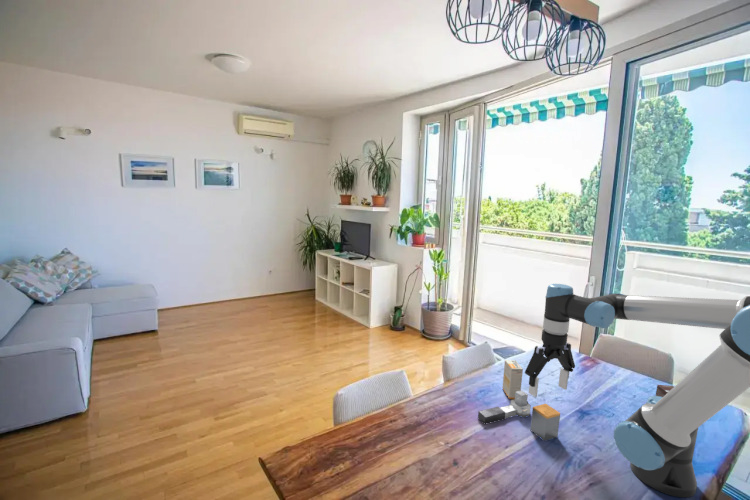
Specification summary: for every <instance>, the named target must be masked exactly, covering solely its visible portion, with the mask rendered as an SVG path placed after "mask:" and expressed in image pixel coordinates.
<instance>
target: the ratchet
mask: <svg viewBox="0 0 750 500" xmlns="http://www.w3.org/2000/svg"><path fill="white" fill-rule="evenodd" d="M477 414H478V415H477V419H478V418H479V419H480V420H481V421H482V422H483V423H482V422H481V421H480V420H479V419H478V420H479V421H480V422H481V423H482V424H484V423H485V424H484V425H487V424H486V423H489V424H491V423H490V422H493V423H495V422H494V421H497V422H499V421H498V420H500V421H503V420H502V419H504V420H505V418H506V419H509V418H508V417H510V418H512V417H511V416H513V417H516V416H515V415H518V416H517V417H519V416H522V417H521V418H527V417H526V416H528V417H529V416H530V415H531V404H530V403H529V401H528V393H526V392H525V391H523V390H522V389H521V391H517V392H516V393H515V399H511V400H510V403H509V405H506V406H501V407H500V406H494V407H492V408H486V409H482V410H478V412H477Z"/></svg>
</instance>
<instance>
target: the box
mask: <svg viewBox="0 0 750 500" xmlns="http://www.w3.org/2000/svg"><path fill="white" fill-rule="evenodd" d="M674 387H675V386H673V385H666V384H657V385H656V391H655V396H659V397H664V396H665V395H666V394H667V393H668V392H669V391H670V390H671V389H672V388H674Z"/></svg>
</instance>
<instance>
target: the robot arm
mask: <svg viewBox="0 0 750 500" xmlns="http://www.w3.org/2000/svg"><path fill="white" fill-rule="evenodd" d="M570 320H574V321H576V322H577V321H578V322H581V323H583V324H585V325H586V324H587V325H589V326H590V327H591V326H592V327H594V328H595V327H596V328H599V329H600V328H601V329H607V328H609V327H610V325H612V324H613V322H614V320H627V321H637V322H650V323H659V324H669V325H670V324H671V325H677V326H679V325H680V326H690V327H697V328H698V327H699V328H710V329H719V330H722V332H720V333H719V340H720V343H721V344H720V345H719V346H718V347H717V348H716V349H715V350H713V351H712V352H711V353H710V354H709V355H708V356H707V357H705V358H704V359H703V360H702V361H701V362H700V363H699V364H698V365H697V366H695V368H693V369H692V370H691V371H690V372H689V373H688V374H686V375H685V377H683V378H682V379H681V380H680V381H679V382H678V383H677V384H675V386H674V388H672V389H671V390H670V391H669V392H668V393H667V394H666V395H665V396H664V397H659V396H656V395H652V396H649V397H648V398H647V401H646V403H644V404H643V405H641V406H640V407H639V408H637V410H636V411H635V412H634V413H633V414H632V415H631V416H629V417H628V418H627V419H625V420H622V421H620V422H619V423H618V424H617V425H616V426H615V428H614V430H613V439H614V441H615V442H614V443H615V445H616V446H615V447H616V448H617V449H618V451H619V452H620V454H621V455H622V456H623V457H624V458H625V459H626V460H627V461H628V462H630V469H631V471H632V473H633V474H634V475H635V476H636V478H638V479H639V480H640V481H641V482H643V483H644V484H646V485H647V486H648V487H651V488H652V489H654V490H657V491H659V492H661V493H662V494H663V493H664V494H666V495H669V496H671V497H677V498H690V497H693V496H695V494H696V492H697V486H698V484H697V483H698V482H697V478H696V473H695V469H694V465H693V459H694V453H695V447H696V441H697V437H698V432H699V427H701V426H702V425H703V424H704V423H706V422H707V421H708V420H709V419H711V418H713V417H714V416H715V415H716V414H717V413H719V412H720V411H721V410H723V409H724V408H725V407H727V406H728V405H729V404H730V403H731V402H733V401H734V400H736V399H737V398H738V397H739V396H741V395H742V394H743V393H745V392H746V391H747V390H748V389H750V295H749V296H748V295H746V296H745V297H742V299H725V298H705V297H704V298H701V297H700V298H698V297H681V296H680V297H675V296H652V295H629V294H628V295H627V294H624V293H617V292H615V293H609V294H606V295H600V296H595V297H590V298H588V297H584V296H580V295H577V294H574V288H573V287H572V286H571V285H567V284H564V283H551V284H549V285H548V286H547V288H546V294H545V305H544V314H543V322H542V323H543V324H542V328H543V329H542V331H541V341H542V343H543V344H542V346H538V345H536V346H535V347H534V350H533V353H532V356H531V358H530V360H529V362H528V365H527V367H526V368H525V371H524V374H525V375H527V376H529V379H528V385H529V387H528V393H529V394H530V395H531V396H533V397H534V398H536V397H537V398H538V389H539V381H540V378H539V377H538V376H539V374H540V373H541V372H542V371H543V369H544V368H545V366H546V364H548V363H549V362H551V360H554V359H556V360H558V362H559V364H560V365H561V367H560V370H559V377H558V379H559V380H558V387H560V388H561V389H563V390H565V391H566V390H568V382H569V378H570V373H572V372H574V369H575V368H576V364H575V359H574V357H573V353H572V344H571V343H570V342H568V333H569V330H570Z"/></svg>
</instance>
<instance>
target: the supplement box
mask: <svg viewBox="0 0 750 500" xmlns="http://www.w3.org/2000/svg"><path fill="white" fill-rule="evenodd" d="M523 372H524V368H522V366H521V364H519V363H518V362H517V360H514V359H513V360H512V359H505V360H504V368H503V379H502V388H503V389H502V390H504V391H503V392H504V393H506V394H505V395H506V397H507V396H508V397H507V398H508V399H509V400H514V399H515V393H516V392H517V391H521V390H522V381H523Z"/></svg>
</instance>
